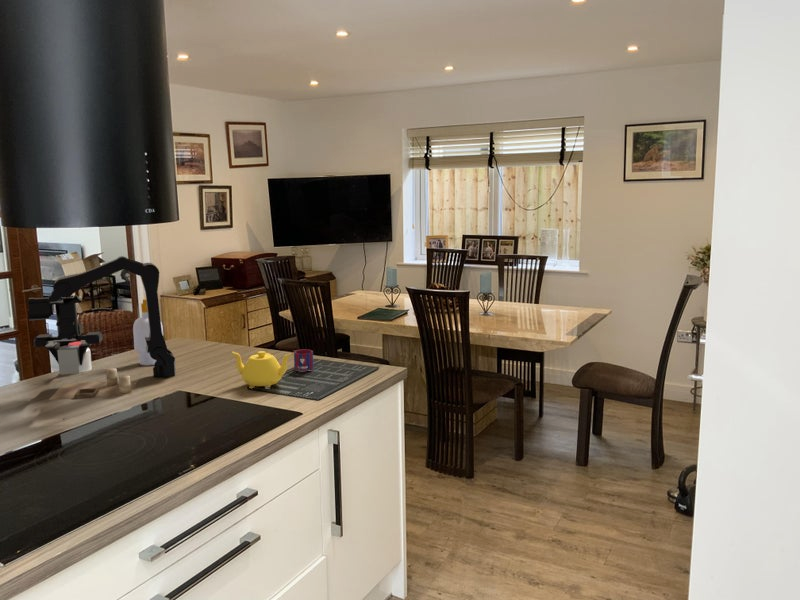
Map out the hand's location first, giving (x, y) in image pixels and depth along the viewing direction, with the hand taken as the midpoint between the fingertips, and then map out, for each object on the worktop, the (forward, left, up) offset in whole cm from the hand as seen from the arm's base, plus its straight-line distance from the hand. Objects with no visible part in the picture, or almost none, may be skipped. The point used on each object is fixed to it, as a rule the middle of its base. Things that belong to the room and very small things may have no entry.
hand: (71, 365), depth 203 cm
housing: (0, 0, -2) cm, 2 cm away
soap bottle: (-19, -29, -9) cm, 36 cm away
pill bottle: (+3, -20, -9) cm, 22 cm away
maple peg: (-17, +11, -7) cm, 21 cm away
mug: (-74, -9, -9) cm, 75 cm away
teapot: (-59, +7, -9) cm, 60 cm away
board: (-8, +5, -8) cm, 13 cm away
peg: (-12, +1, -7) cm, 14 cm away
